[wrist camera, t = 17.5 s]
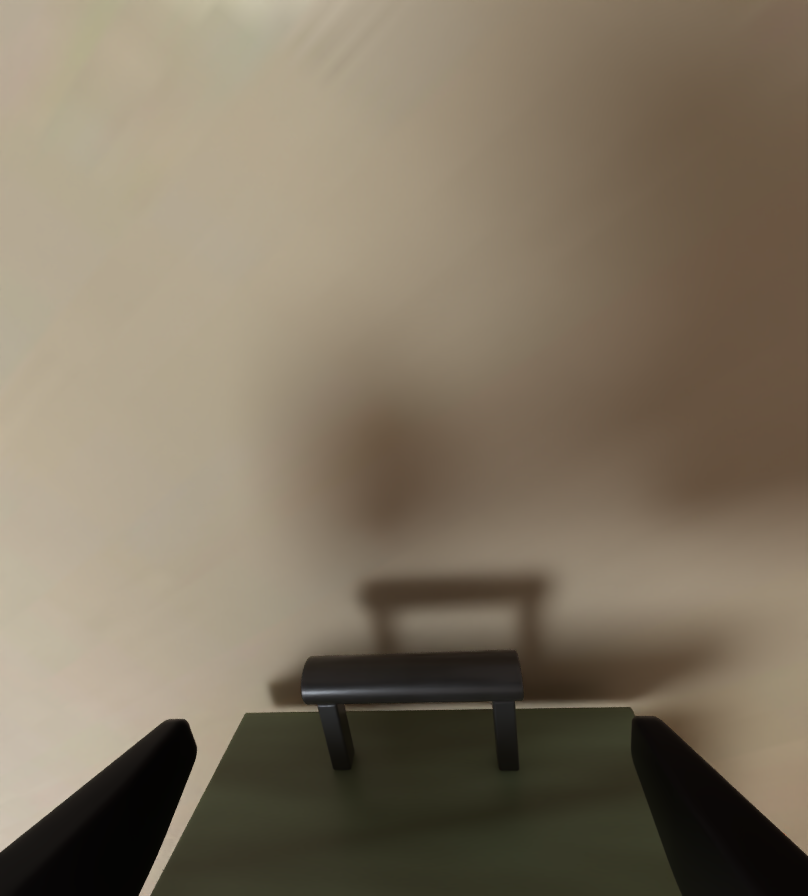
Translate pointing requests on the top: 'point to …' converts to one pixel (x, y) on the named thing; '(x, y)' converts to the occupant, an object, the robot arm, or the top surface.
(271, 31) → the top surface
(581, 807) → the drawer
